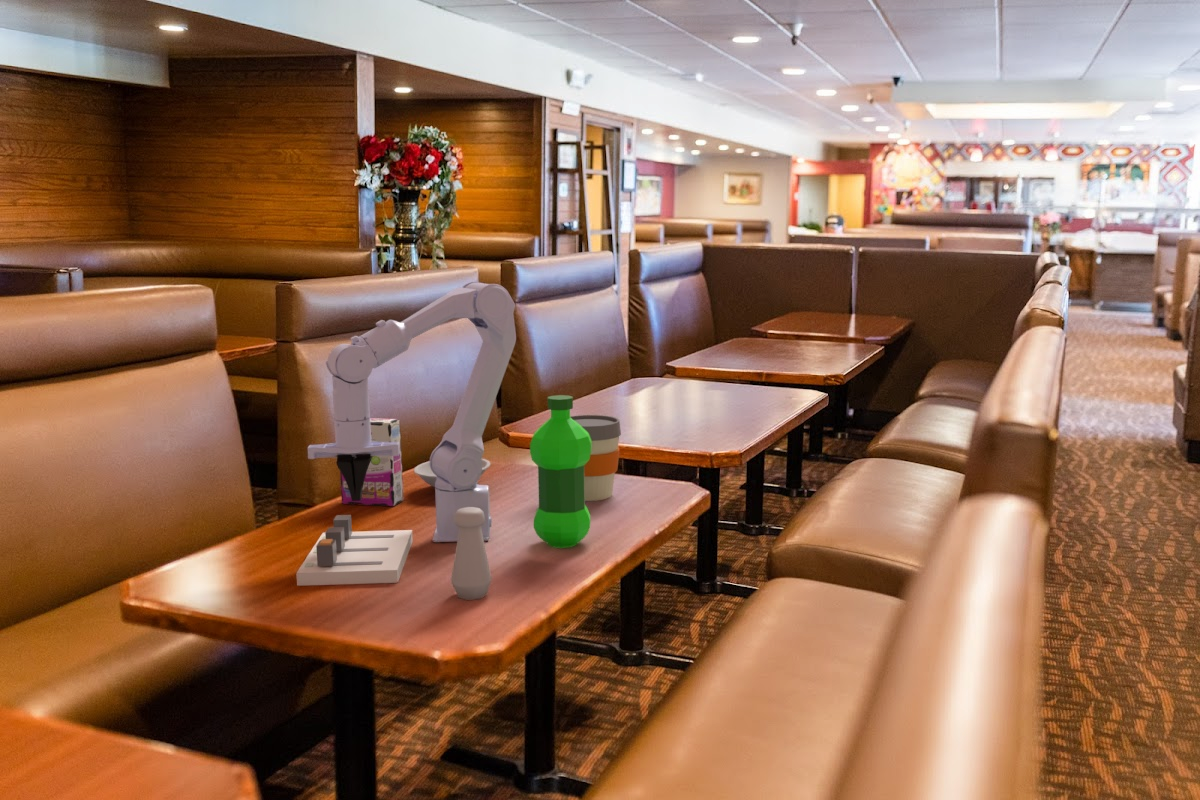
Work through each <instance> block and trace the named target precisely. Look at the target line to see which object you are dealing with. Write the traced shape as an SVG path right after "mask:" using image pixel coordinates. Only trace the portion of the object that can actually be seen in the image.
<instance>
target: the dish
mask: <svg viewBox="0 0 1200 800" xmlns="http://www.w3.org/2000/svg"><path fill="white" fill-rule="evenodd" d="M481 463H482V473H481V476H480V478H481V477H482V476H483V474H484V473H485V471H486V470H487V469H489V468H490V466H491V462H490V460H488V459H486V458H482V461H481ZM413 472H414V474H415V475H417V476H419V477H420V478H421V479H422V480H423V481H424V482H425V483H426V484H427V485H429V486H431V487H434V488H435V482H436V479H437V476H436V475H435V474H434V473H433V472H432V470H431V468H430V460H428V461H426V462H422V463H420V464H418V465H417V466H414V469H413Z"/></svg>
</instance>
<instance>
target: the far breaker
mask: <svg viewBox="0 0 1200 800" xmlns="http://www.w3.org/2000/svg"><path fill="white" fill-rule="evenodd" d="M332 523H333V527H344V537H345V539H349V538H350V536H351V534H352V532H353V528H352V525H353V524H352V515H351V514H340V515H339V514H336V515H335V517H334V518H333V521H332Z"/></svg>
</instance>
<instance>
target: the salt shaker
mask: <svg viewBox="0 0 1200 800" xmlns="http://www.w3.org/2000/svg"><path fill="white" fill-rule="evenodd" d="M454 520H455V524H456V525H457V526H458V527H460V530H459V536H458V541H456V547H455V548H456V549H455V555H454V561H453V567H452V572H451V578H450V581H451V584H452V587H453V588H454V591H455V592H456V594H457V597H458V599H462V600H466V601H472V600H480V599H481V600H482V598H484V597H485V596H487V593H488V591H489V588H490V585H491V583H492V575H491V569H490V564H489V561H488V560H489V558H488V554H487V549H486V545H485V541H484V539H483V535H482V530H481V525H483V524H484V521H485V516H484V512H483V511H482V510H481V509H480V508H476V507H465V508H461V509H458V510H457V512H456V513H455V516H454Z"/></svg>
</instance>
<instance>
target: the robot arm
mask: <svg viewBox="0 0 1200 800" xmlns="http://www.w3.org/2000/svg"><path fill="white" fill-rule="evenodd" d="M515 309H516V304H515V302H514V299H513V298H512V297H511V295H510V293H509V290H507V288H505V287H504V286H502V285H501V284H497V283H483V282H480V281H469V282H467V283H465V284H464V285H463V286H459V287H456V288H453V289H452V290H450V291H448V292H447V293H446V294H444V295H442V296H441V297H439V298H437V299H436V300H434V301H432V302H431V303H430V304H428V305H426V306H425V307H422V308H421V309H420V310H418V311H416V312H414V313H413V314H411V315H410V316H408V317H407V318H405V319H403V320H402V321H397V320H394V319H388V320H386V321H385V320H383V319H380V320H379V321H377V322H375V327H374V328H372V329H370V330H369V331H366V332H365V333H363V334H362V335H359V336H358V335H354V336H352V337H350V341H351V344H350V343H341V344H338V345H336V346H335V347H334V348H332V350H331V351H330V353H329V354H328V356H327V360H326V362H325V366H326V368H327V370H328V372H329V373H330V374H331V375H332V378H331V379H332V405H333V421H334V436H335V442H333V443H332V442H331V443H322V444H309V445H308V446H307V459H308V460H315V459H321V458H322V459H323V458H336V462H335V463H336V465H337V468H338V469H339V472H340V471H341V473H342V475H343V477H344V479H345V481H346V483H347V485H348V488H349V491H350V495H351V499H352V501H360V500H361V499H362V489H363V484H364V479H365V476H366V472H367V469H368V467H369V464H370V461H371V459H372V456H384V455H392V456H399V454H400V447H399V442H374V441H371V423H370V418H371V407H370V390H369V380H368V378H369V377H370V375H371V374H372V371H373V369H377V368H379V367H380V366H382V365H383V364H385V363H387V362H389V361H391V360H392V359H395V357H398V356H399V355H401V354H403V353H405V352H407V351H408V350H409V347H410V344H411V342H412V340H413V339H414V338H416V337H418V336H420V335H422V334H425V333H426V332H428V331H430V330H432V329H434V328H436V327H438V326H440V325H441V324H443V323H445V322H447V321H449V320H452V319H468V320H469V321H470V322H471V323H473V325H474V326H475V328H476V331H477V332H478V335H480V338H481V339H482V343H481V346H480V349H479V351H478V354H477V356H476V357H477V358H476V359H475V360H476V361H475V363H474V366H473V367H472V368H473V369H472V371H471V374H470V377H469V379H468V382H467V385H466V388H465V390H464V394H463V396H462V398H461V402H460V404H459V408H458V409H457V413H456V416H455V418H454V420H453V424H452V426H451V427H450V428H449V429H448V430H447V431H446V432H445V433H444V434H443V435H442V437H441V441H440V443H439V444H438V445H437V446H436V447H435V448H434V449H433V450H432V452H431V454H430V457H429V461H430V468H431V470H432V472H433V473H434V474H435V475H436V476H437V479H436V482H435V487H434V490H435V491H434V492H435V493H434V494H435V521H436V527H435V531H434V534H433V537H432V542H433V543H443V542H444V543H445V542H449V543H451V542H458V536H459V530H460V527H458V526H457V525H456V524H455V520H454V516H455V513H456V512H457V510H458V509H461V508H465V507H476V508H480V509H481V510H482V511H483V512H484V516H485V521H484V524H483V525H481V530H482V535H483V539H484V542H486V541H489V540H490V533H491V528H492V522H493V521H492V516H491V515H490V514H491V513H490V512H491V511H490V510H491V509H490V505H491V504H490V486H489V485H487V484H478V482H479V480H480V478H481V477H482V476H481V473H482V463H481V461H482V459H483V455H484V451H485V449H484V443H483V434H484V431H485V429H486V426H487V423H488V421H489V419H490V415H491V413H492V409H493V407H494V404H495V401H496V398H497V395H498V393H499V390H500V388H501V385H502V382H503V378H504V377H505V374H506V370H507V368H508V365H509V362H510V359H511V357H512V354H513V351H514V348H515V345H516V341H517V333H516V324H515V317H514V311H515ZM480 476H481V477H480Z"/></svg>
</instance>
